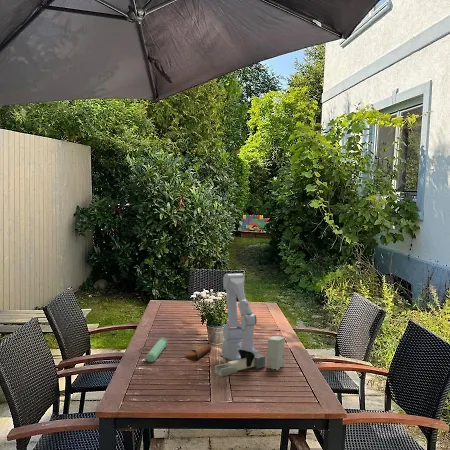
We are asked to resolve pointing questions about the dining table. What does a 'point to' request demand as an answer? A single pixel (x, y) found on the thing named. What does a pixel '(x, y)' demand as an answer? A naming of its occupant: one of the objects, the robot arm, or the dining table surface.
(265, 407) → the dining table surface
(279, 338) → the skincare box
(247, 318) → the robot arm
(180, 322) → the dining table surface
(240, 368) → the inner rod
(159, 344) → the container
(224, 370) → the sleeve
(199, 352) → the sunglasses case
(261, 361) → the socket
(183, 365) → the dining table surface
